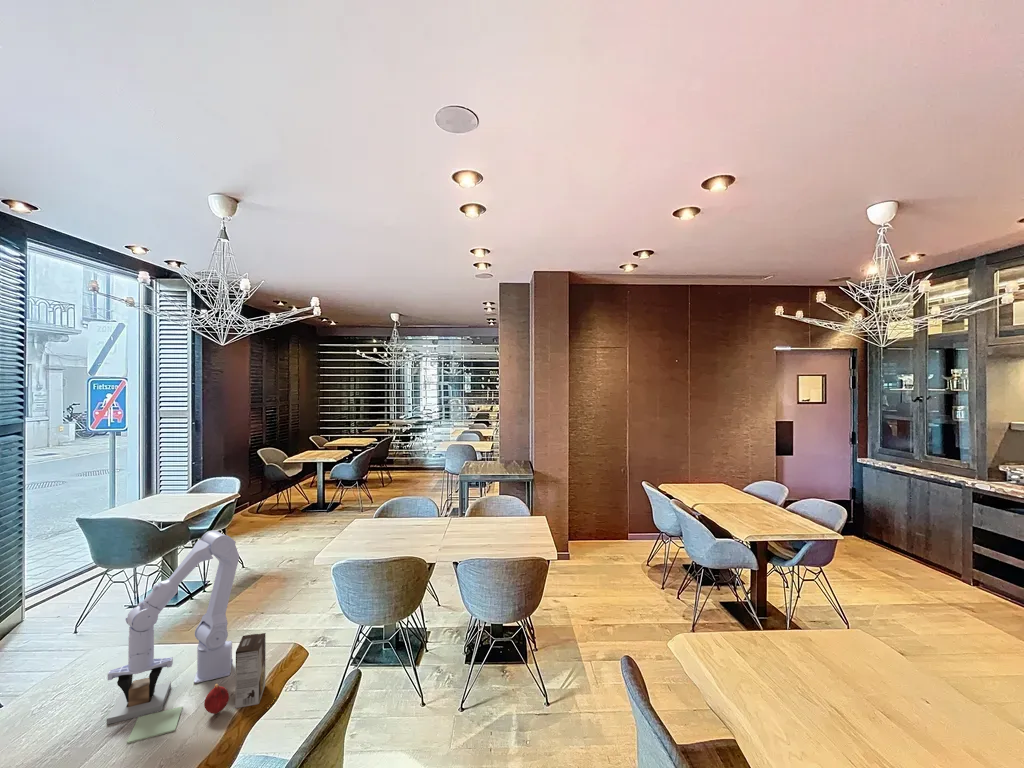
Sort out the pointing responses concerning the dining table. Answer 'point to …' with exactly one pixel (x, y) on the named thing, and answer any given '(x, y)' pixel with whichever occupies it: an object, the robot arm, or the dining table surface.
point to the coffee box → (250, 670)
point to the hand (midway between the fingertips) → (140, 697)
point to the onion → (216, 699)
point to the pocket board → (125, 712)
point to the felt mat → (155, 724)
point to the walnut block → (139, 692)
